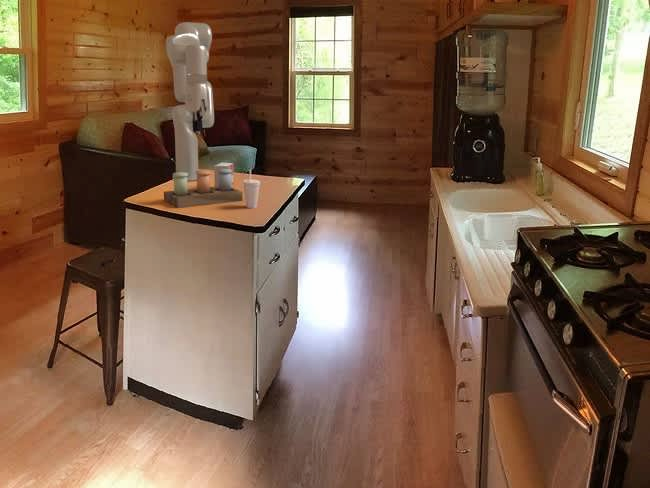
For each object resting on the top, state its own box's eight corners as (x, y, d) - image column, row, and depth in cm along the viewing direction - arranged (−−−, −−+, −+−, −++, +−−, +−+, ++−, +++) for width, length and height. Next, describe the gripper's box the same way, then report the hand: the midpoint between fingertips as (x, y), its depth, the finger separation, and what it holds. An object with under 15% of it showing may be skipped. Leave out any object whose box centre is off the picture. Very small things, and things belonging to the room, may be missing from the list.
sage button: (171, 193, 230) (170, 172, 228) (184, 192, 233) (184, 171, 231) (177, 196, 226) (176, 175, 223) (191, 195, 229) (190, 174, 227)
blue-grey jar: (215, 189, 240) (215, 169, 238) (227, 188, 243) (227, 168, 241) (221, 192, 236) (221, 171, 234) (234, 190, 239) (234, 170, 237)
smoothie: (244, 204, 232) (244, 167, 228) (261, 205, 232) (261, 168, 228) (241, 208, 226) (241, 170, 222) (259, 209, 226) (259, 171, 222)
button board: (164, 200, 233) (163, 191, 232) (226, 193, 248) (226, 185, 247) (178, 208, 223) (178, 198, 222) (242, 200, 238) (242, 191, 237)
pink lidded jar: (193, 191, 235) (193, 171, 233) (206, 190, 238) (206, 170, 236) (200, 194, 231) (199, 173, 229) (213, 193, 234) (213, 172, 232)
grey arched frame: (227, 192, 251) (227, 166, 248) (214, 191, 252) (214, 165, 249) (234, 188, 259) (234, 163, 256) (221, 187, 260) (221, 162, 257)
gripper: (178, 79, 229) (179, 129, 234) (195, 80, 218) (196, 133, 223) (197, 79, 234) (198, 129, 238) (215, 80, 222) (215, 132, 227)
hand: (197, 131), depth 230 cm, fingers closed
